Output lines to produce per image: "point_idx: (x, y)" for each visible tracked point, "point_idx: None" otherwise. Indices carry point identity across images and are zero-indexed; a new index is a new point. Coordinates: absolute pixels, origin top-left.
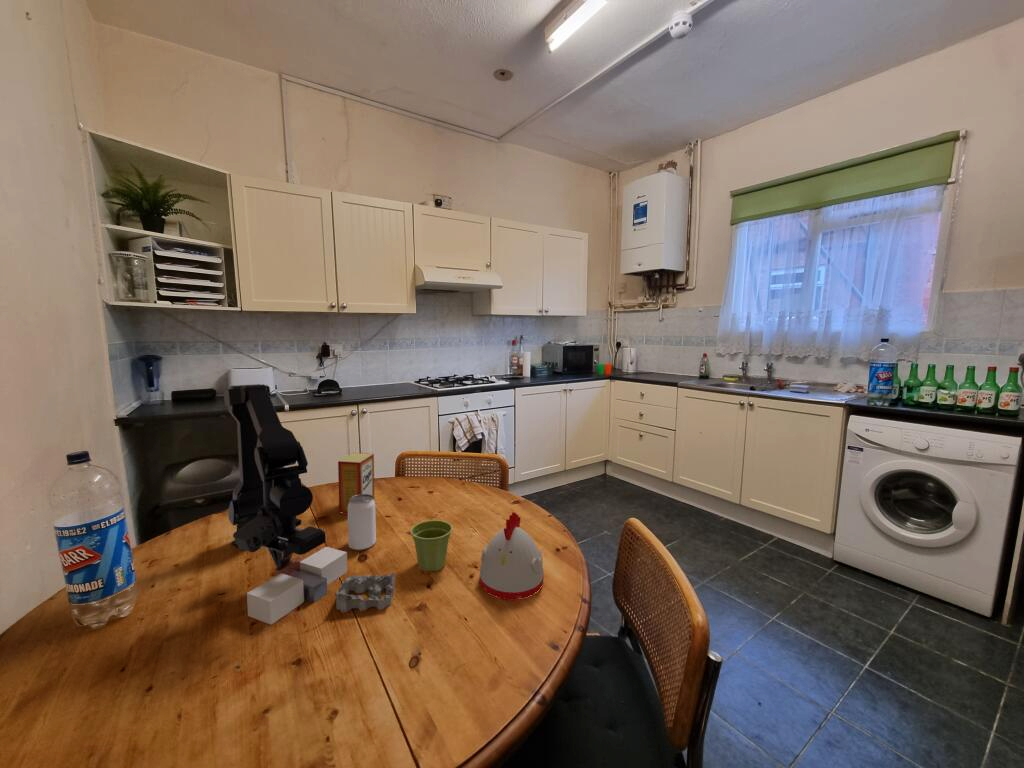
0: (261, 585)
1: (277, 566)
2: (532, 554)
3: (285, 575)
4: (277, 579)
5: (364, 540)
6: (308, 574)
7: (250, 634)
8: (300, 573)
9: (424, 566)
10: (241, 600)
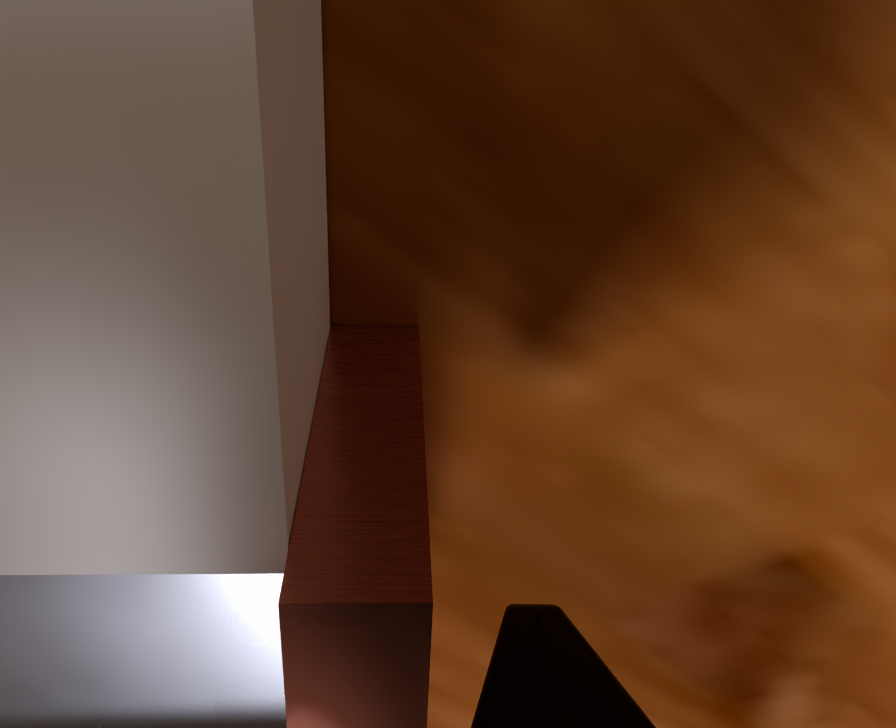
0: (201, 27)
1: (581, 681)
2: None
3: (106, 554)
4: (99, 392)
5: None
6: (13, 715)
7: None
8: (162, 690)
9: None
10: (787, 16)
